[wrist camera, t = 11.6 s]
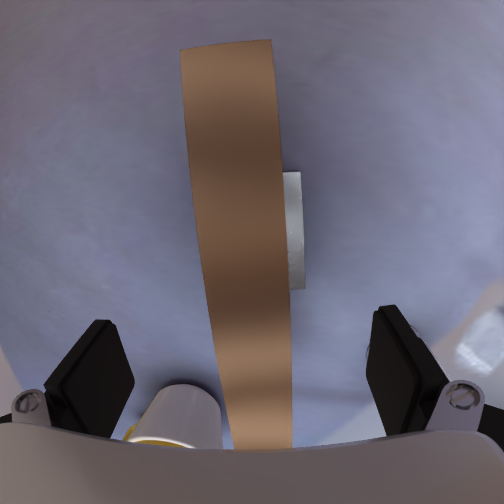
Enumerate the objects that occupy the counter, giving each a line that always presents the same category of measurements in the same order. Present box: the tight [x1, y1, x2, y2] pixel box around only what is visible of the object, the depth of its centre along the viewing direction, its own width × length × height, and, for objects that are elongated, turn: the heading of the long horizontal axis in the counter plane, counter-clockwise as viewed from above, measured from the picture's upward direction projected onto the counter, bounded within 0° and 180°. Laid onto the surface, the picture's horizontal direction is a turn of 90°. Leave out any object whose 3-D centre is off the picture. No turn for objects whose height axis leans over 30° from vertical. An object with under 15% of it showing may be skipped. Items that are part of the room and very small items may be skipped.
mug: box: [122, 384, 223, 449], centre depth 30 cm, size 14×10×10 cm
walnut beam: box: [180, 39, 292, 450], centre depth 18 cm, size 24×4×5 cm, turn 5°
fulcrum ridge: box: [283, 170, 305, 290], centre depth 24 cm, size 10×8×8 cm
